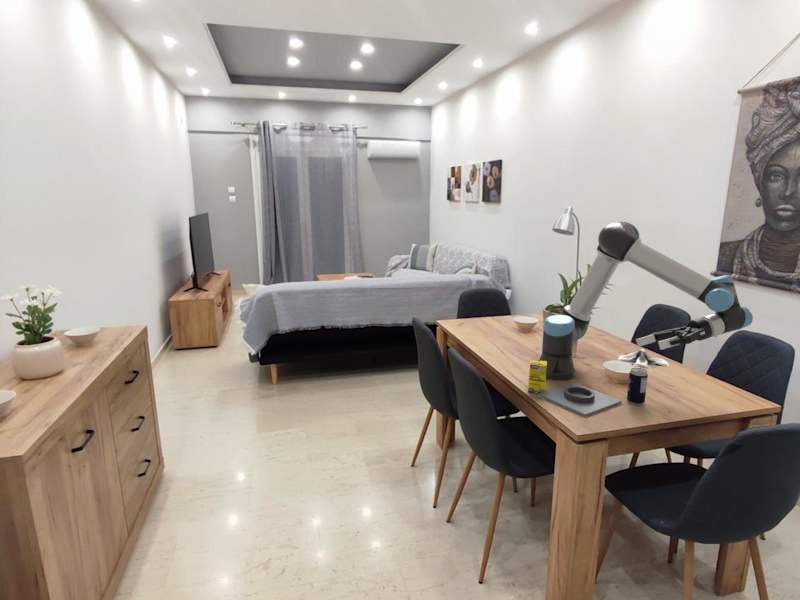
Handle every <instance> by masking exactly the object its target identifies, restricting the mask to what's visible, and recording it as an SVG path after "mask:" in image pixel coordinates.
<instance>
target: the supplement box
mask: <svg viewBox="0 0 800 600" xmlns="http://www.w3.org/2000/svg"><path fill="white" fill-rule="evenodd" d="M529 364H530V365H529V372H528V373H529V374H528V375H529V376H528V385H527V386H528V389H527V392H528V393H534V392H538V393H541V392H545V391H546V381H547V380H546V379H547V378H546V369H547V361H539V359H538V360H536V359H530V363H529ZM538 393H537V394H538Z"/></svg>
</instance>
